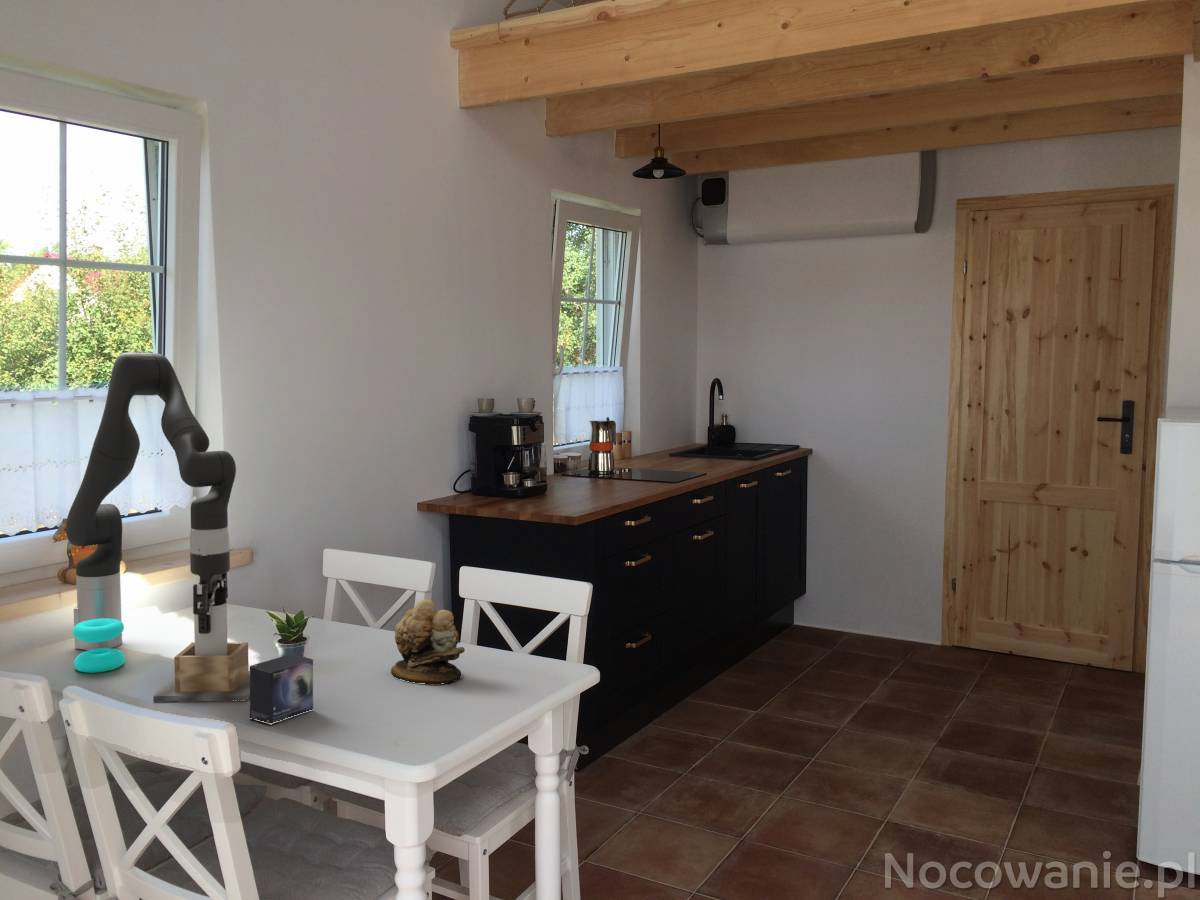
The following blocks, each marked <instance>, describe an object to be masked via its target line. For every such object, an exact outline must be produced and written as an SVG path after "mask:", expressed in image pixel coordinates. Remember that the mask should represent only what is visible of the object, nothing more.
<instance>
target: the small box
mask: <svg viewBox="0 0 1200 900" xmlns="http://www.w3.org/2000/svg"><path fill="white" fill-rule="evenodd" d="M249 671H250V698H249V716H248V717H249V718H252V719H257V720H260V721H264V722H267V723H273V722H276V721H280V720H283V719H285V718H288V717H291V716H294V715H297V714H300V713H303V712H306V711H309V710H312V709H313V710H314V659H313V658H311V657H310V658H309V657H305V656H302V655H299V654H294V653H289V654H287V655H283V656H278V657H275V658H273V659H269V660H266V661H262V662H259V663H255V664H253V665H252V664H251V665H249ZM249 718H248V719H249Z"/></svg>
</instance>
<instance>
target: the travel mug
mask: <svg viewBox="0 0 1200 900" xmlns="http://www.w3.org/2000/svg"><path fill="white" fill-rule="evenodd" d="M226 591H227V587H223V588H221V589H219V590H218V591H216V592H215V593H216V600H215V604H214V605H212V608H211V613H210V615H211V632H210V633H208V634H200V633H199V626H198V615H197V614H193V623H194V625H193V626H194V630H193V631H194V643H195V656H228V647H227V642H228V606H227V604H228V603H227V599H226ZM200 596H202V595H200ZM211 597H212V593H211V594H210V595H208V599H211ZM202 608H203V605H202Z"/></svg>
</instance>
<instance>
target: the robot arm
mask: <svg viewBox="0 0 1200 900" xmlns="http://www.w3.org/2000/svg"><path fill="white" fill-rule="evenodd" d="M106 394H107V395H106V401H105V404H104V405H105V406H104V409H103V412H102V417H101V420H100V423H99V427H98V430H97V433H96V436H95V438H94V441H93V444H92V448H91V451H90V454H89V459H88V463H87V464H86V465H87V466H86V469H85V473H84V475H83V478H82V482H81V483H80V486H79V488H78V490H77V493H76V495H75V498H74V499H73V502H72V504H71V506H70V509H69V512H68V515H67V518H66V521H65V522H66V523H65V534H66V538H67V540H68V542H69V543H70V544H71V545H73V546H74V547H89V546H96V548H95V549H94V551H93V552H92V553H90V554H89V555H88V556H86V557H84V558H82V559H80V560H79V561H78V562H76V564H75V575H76V576H75V579H76V580H75V581H76V606H75V607H73V628H74V627H75V626H76V625H77V624H79V623H81V622H83V621H87V620H92V619H101V618H111V619H117V620H119V621H121V622H122V596H121V595H122V593H121V591H122V590H121V562H122V559H123V558H122V557H123V554H122V553H123V551H122V550H123V519H122V514H121V511H120V509H119V508H118V507H117V506H116V505H115V504H112V503H102V502H103V501H104V500H105V498H106V497H107V496H108V495H109V494H110V493H112V491H114V490H115V489H116V488H117V487H118V486H119V485H120V484H121V483H122V482H123V481H125V480H126V479H127V478H128V476H130V474H131V473H132V471H133V469H134V467H135V465H136V464H135V463H136V461H137V457H138V454H139V451H140V446H141V441H140V437H139V434H138V432H137V430H136V427H135V425H134V424H133V422H132V421H133V420H132V419H131V415H130V413H129V412H130V411H129V410H130V404H131V400H132V399H133V397H134V396H158V397H159V398H160V399H161V400H162V401H163V402H164V408H163V411H162V415H161V418H160V419H161V420H160V425H161V431H162V433H163V435H164V437H165V438H166V440H167V442H168V443H169V444H170V446H171V447H172V449H173V451H174V453H175V456H176V457H175V458H176V460H177V465H178V470H179V475H180V478H181V480H182V482H183V483H184V484H186V485H187V486H189V487H191V488H203V487H205V488H206V487H210V489H209V491H208V493H207V494H206V495H204V496H202V497H199V498H197V499H196V498H195V499H194V500H192V502H191V504H190V535H189V560H190V561H189V562H190V563H189V564H190V565H189V566H190V573H191V574H193V575H196V576H198V577H199V580H198V581H199V582H198V583H197V584H193V586H192V592H193V593H192V594H193V595H192V598H193V599H192V600H193V601H192V602H193V603H192V604H193V605H192V606H193V607H192V614H193V615H194V614H197V615H198V626H199V633H200V634H208V633H210V632H211V615H210V613H211V608H212V605H214V604H215V600H216V593H215V592H216V591H218V590H219V589H221V588H223V587H227V591H226V600H227V599H228V597H229V591H228V590H229V589H228V573H229V572H230V570H231V559H230V558H231V557H230V555H231V554H230V552H231V551H230V550H231V549H230V547H231V546H230V534H229V520H228V519H229V518H228V517H229V516H228V508H229V502H230V499H231V498H230V497H231V494H232V489H233V487H234V486H233V485H234V482H235V479H236V474H237V465H236V462H235V459H234V457H233V456H232V454H230V452H228V451H225V450H212V451H211V450H210V451H208V449H209V447H210V438H209V437H208V435H207V433H206V431H205V430H204V428H203V427H202V425H201V424H200V423H199V421H198V420H197V418H196V417H195V414H193V412H192V410H191V408H190V406H189V403H188V401H187V398H186V396H185V393H184V391H183V389H182V386H181V383H180V381H179V379H178V376H177V373H176V371H175V368H174V367H173V365H172V363H171V361H170V360H169V359H168V358H167V356H165V355H164V354H161V353H156V352H134V351H133V352H131V351H129V352H122V353H120V354H119V355H117V358H116V359H115V361H114V363H113V367H112V371H111V375H110V380H109V385H108V390H107V393H106ZM211 593H212V597H211V599H208V595H210V594H211ZM200 595H202V596H200ZM202 605H203V608H202ZM122 623H123V622H122ZM73 637H74V649H79V650H84V651H88V650H92V649H97V648H112V647H113V648H117V647H118V645H119V646H120V644H121V643H123V632H122V633H121V634H120V635H119V636H117V637H116V638H114V639H111V640H107V641H102V642H84V641H81V640H78V639H77V638H76V637H75V636H74V635H73ZM121 645H122V644H121Z"/></svg>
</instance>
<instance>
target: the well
mask: <svg viewBox="0 0 1200 900" xmlns="http://www.w3.org/2000/svg"><path fill="white" fill-rule="evenodd" d="M227 647H228V656H195V642H191V643H190V644H189V645H188V646H186V647H185V648H184V649H182V650H181V651H180V652H178V653H177V654H176V655H175V656H174V657H173V658H174V663H173V664H174V678H172V679H171V680H170V681H169V682H168V683H166V685H164V686H163V687H162V688H161V689H160V690H158V692H157V691H156V693H155V694H154V695H153V696H152V697H153V698H152V699H153V701H202V702H203V701H228V702H241V701H240V700H247V699H248V698H249V697H250V665H249V642H247V641H246V642H241V641H239V642H238V641H237V642H234V641H233V642H228V641H227ZM249 699H250V698H249ZM249 699H248V700H249ZM233 700H234V701H233ZM235 700H237V701H235ZM238 700H239V701H238ZM248 700H247V701H248ZM153 701H152V702H153Z"/></svg>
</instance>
